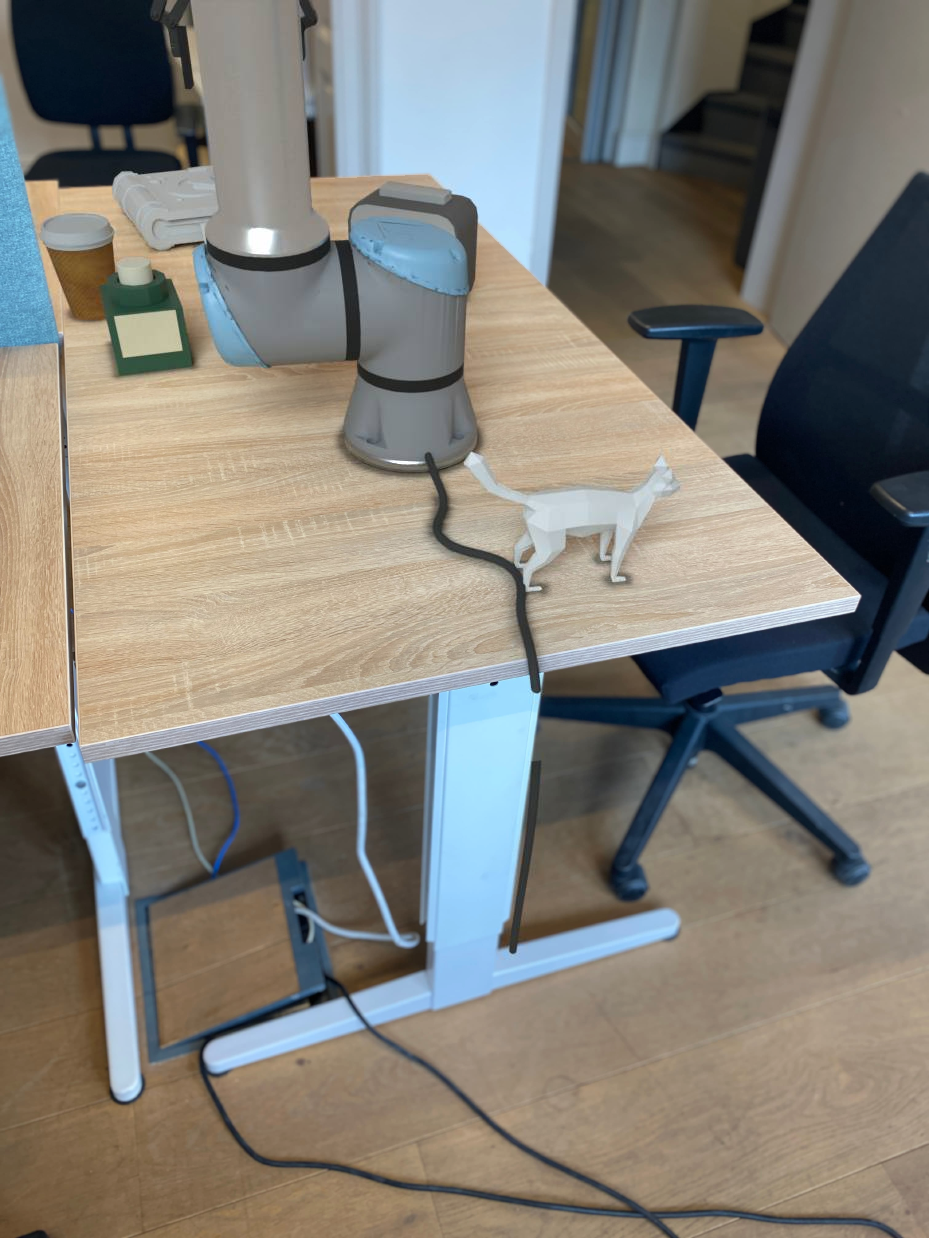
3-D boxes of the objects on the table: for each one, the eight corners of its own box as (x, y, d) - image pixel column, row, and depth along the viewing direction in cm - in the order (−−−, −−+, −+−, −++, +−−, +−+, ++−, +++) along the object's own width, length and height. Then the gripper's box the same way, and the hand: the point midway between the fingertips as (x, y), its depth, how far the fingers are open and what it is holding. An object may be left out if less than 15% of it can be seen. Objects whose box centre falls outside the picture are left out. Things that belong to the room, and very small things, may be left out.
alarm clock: (351, 302, 133) (346, 190, 123) (381, 276, 142) (378, 169, 132) (455, 320, 130) (459, 206, 120) (479, 293, 138) (485, 184, 128)
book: (153, 263, 142) (144, 213, 137) (115, 211, 161) (105, 165, 156) (271, 248, 149) (266, 199, 144) (221, 200, 168) (215, 155, 163)
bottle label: (182, 350, 114) (175, 310, 110) (123, 358, 111) (114, 316, 108) (182, 350, 114) (175, 309, 110) (122, 357, 111) (113, 316, 108)
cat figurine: (669, 579, 86) (700, 449, 76) (463, 600, 82) (469, 466, 73) (652, 551, 89) (680, 423, 80) (453, 570, 85) (458, 438, 76)
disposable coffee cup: (143, 304, 130) (126, 217, 122) (106, 329, 123) (85, 239, 115) (85, 295, 132) (64, 208, 124) (45, 319, 125) (20, 229, 117)
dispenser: (192, 367, 115) (179, 289, 109) (119, 376, 113) (101, 297, 106) (181, 335, 122) (168, 261, 116) (111, 343, 120) (94, 267, 113)
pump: (155, 285, 111) (152, 266, 109) (121, 289, 109) (117, 269, 108) (151, 274, 113) (148, 255, 112) (118, 277, 112) (114, 258, 111)
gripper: (331, -120, 107) (340, 85, 121) (115, -129, 105) (150, 80, 119) (329, -118, 101) (339, 96, 115) (100, -128, 99) (138, 92, 113)
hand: (243, 89), depth 117 cm, fingers open, 13 cm apart
